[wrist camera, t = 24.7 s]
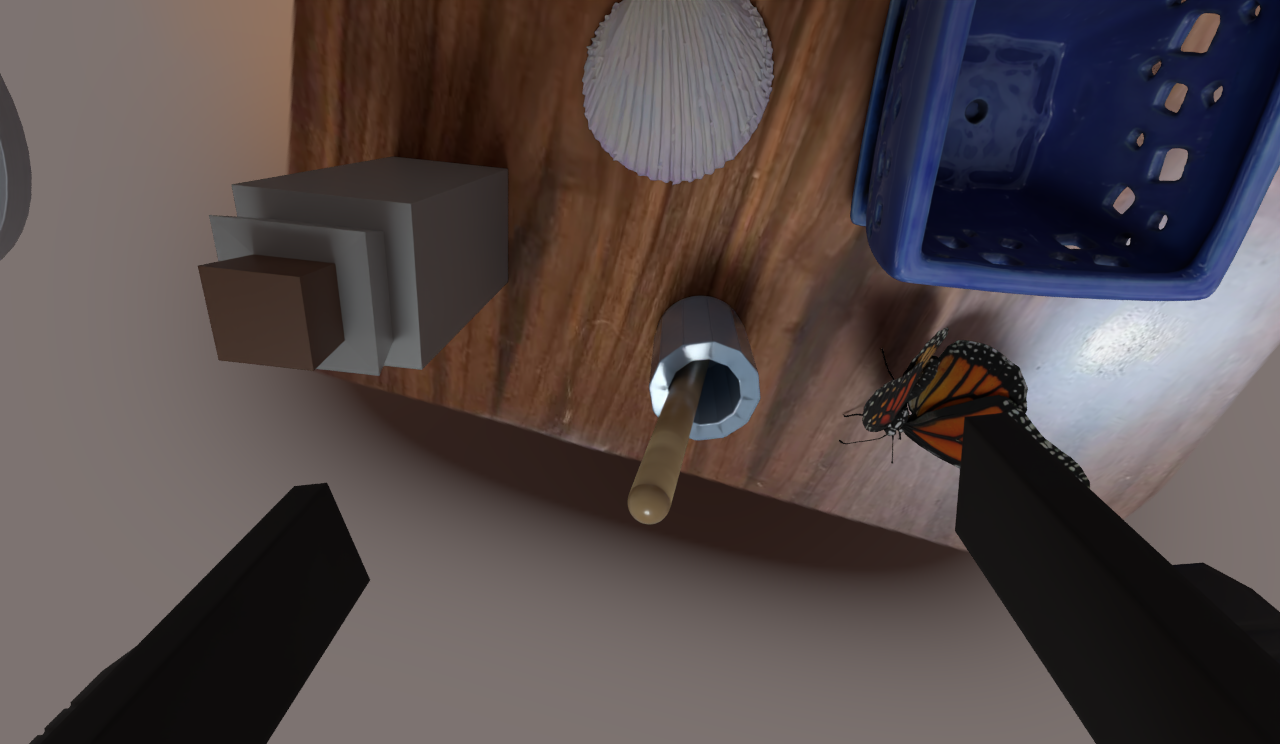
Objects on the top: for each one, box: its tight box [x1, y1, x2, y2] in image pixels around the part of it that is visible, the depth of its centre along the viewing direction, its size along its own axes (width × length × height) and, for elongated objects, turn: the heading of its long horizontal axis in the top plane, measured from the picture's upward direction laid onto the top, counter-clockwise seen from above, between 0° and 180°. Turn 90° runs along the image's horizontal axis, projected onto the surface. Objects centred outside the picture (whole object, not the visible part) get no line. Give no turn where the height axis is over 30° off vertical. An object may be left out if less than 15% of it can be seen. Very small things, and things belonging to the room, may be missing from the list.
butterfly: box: [839, 328, 1090, 489], centre depth 33 cm, size 12×10×10 cm
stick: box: [628, 359, 710, 524], centre depth 29 cm, size 2×2×18 cm
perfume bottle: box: [198, 157, 508, 376], centre depth 27 cm, size 7×7×18 cm
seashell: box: [582, 0, 774, 185], centre depth 30 cm, size 10×6×10 cm
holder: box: [649, 296, 760, 440], centre depth 34 cm, size 6×6×8 cm
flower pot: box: [850, 0, 1280, 301], centre depth 26 cm, size 13×13×12 cm
